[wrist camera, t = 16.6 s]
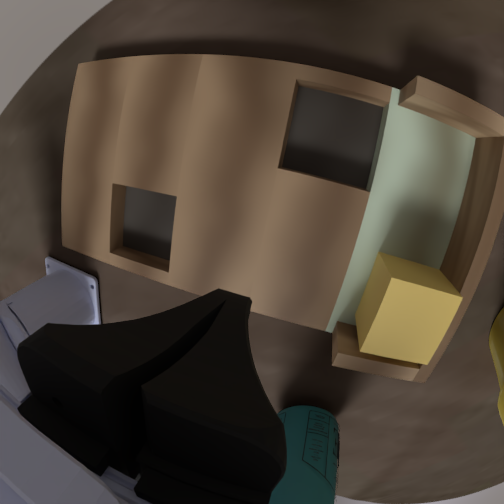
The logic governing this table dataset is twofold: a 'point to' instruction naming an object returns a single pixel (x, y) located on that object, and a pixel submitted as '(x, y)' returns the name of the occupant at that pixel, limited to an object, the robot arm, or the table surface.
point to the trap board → (280, 184)
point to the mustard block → (405, 310)
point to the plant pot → (498, 356)
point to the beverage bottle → (308, 457)
